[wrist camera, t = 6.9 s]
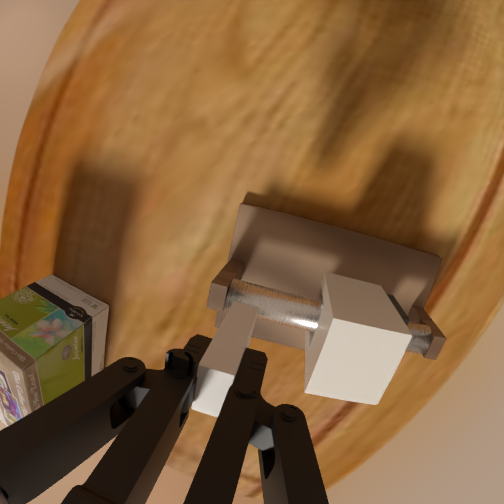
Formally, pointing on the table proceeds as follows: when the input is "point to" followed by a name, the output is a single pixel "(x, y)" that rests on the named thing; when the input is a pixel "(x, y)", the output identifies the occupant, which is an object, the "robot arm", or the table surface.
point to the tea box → (47, 344)
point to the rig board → (320, 268)
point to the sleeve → (354, 341)
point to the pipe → (302, 311)
